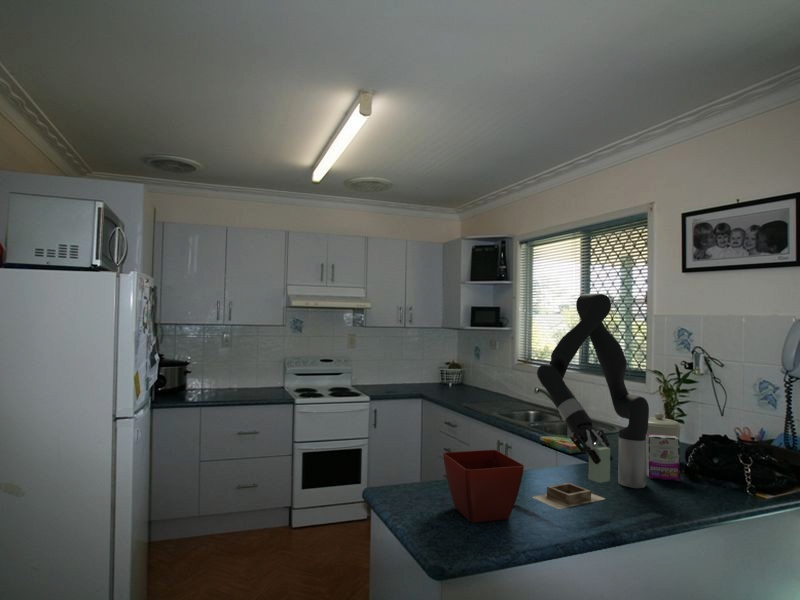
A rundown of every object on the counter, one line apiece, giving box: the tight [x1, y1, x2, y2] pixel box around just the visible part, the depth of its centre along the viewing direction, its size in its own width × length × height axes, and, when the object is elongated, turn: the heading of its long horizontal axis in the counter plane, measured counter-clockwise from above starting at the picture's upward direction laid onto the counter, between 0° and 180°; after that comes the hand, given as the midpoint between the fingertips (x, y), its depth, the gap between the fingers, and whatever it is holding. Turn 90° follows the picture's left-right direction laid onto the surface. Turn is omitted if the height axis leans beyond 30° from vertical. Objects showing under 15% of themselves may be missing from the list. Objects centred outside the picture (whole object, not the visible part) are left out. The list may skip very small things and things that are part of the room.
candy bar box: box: [646, 434, 681, 482], centre depth 197 cm, size 11×5×16 cm, turn 76°
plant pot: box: [442, 449, 525, 524], centre depth 155 cm, size 19×19×17 cm
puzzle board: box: [531, 482, 606, 510], centre depth 167 cm, size 22×12×4 cm, turn 120°
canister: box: [647, 412, 683, 439], centre depth 224 cm, size 18×18×21 cm
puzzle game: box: [539, 434, 583, 454], centre depth 241 cm, size 12×5×20 cm
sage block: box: [587, 444, 611, 484], centre depth 157 cm, size 5×4×10 cm
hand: (604, 461), depth 155 cm, fingers closed on sage block, 5 cm apart
